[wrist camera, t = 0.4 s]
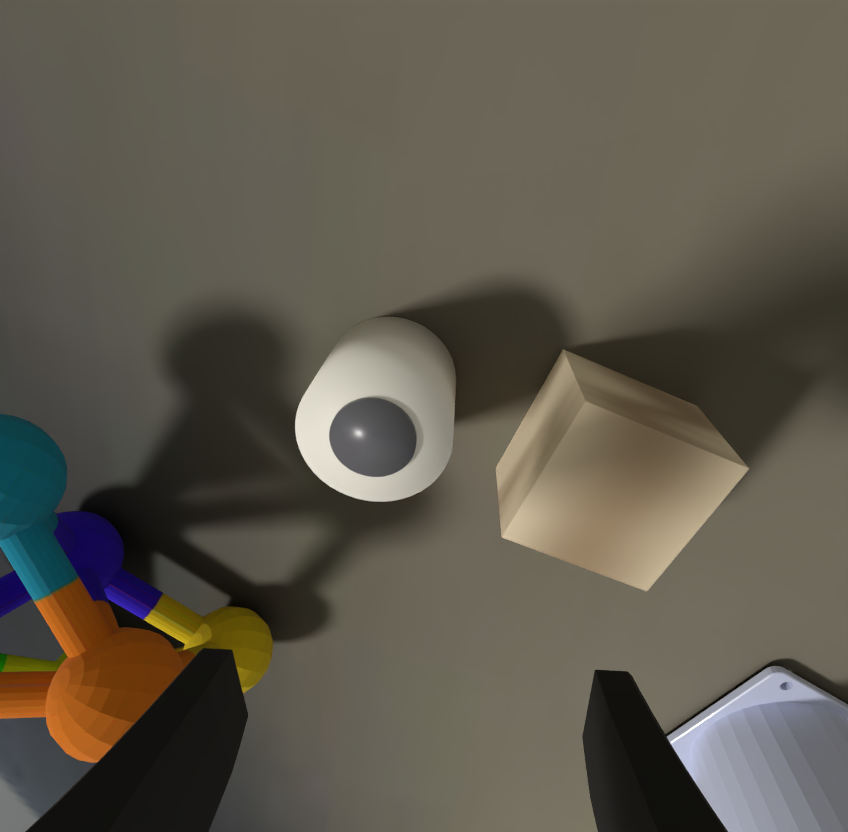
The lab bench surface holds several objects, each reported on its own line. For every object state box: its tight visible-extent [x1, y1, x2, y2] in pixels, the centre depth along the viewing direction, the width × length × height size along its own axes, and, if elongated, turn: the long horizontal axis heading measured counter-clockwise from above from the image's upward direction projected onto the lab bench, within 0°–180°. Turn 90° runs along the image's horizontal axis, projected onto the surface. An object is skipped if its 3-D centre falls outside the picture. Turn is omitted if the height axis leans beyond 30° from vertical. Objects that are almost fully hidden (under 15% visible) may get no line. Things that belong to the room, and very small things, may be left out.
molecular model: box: [0, 414, 273, 762], centre depth 20 cm, size 15×10×15 cm
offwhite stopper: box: [295, 317, 456, 502], centre depth 17 cm, size 4×4×4 cm
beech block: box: [496, 349, 749, 591], centre depth 18 cm, size 5×5×4 cm
